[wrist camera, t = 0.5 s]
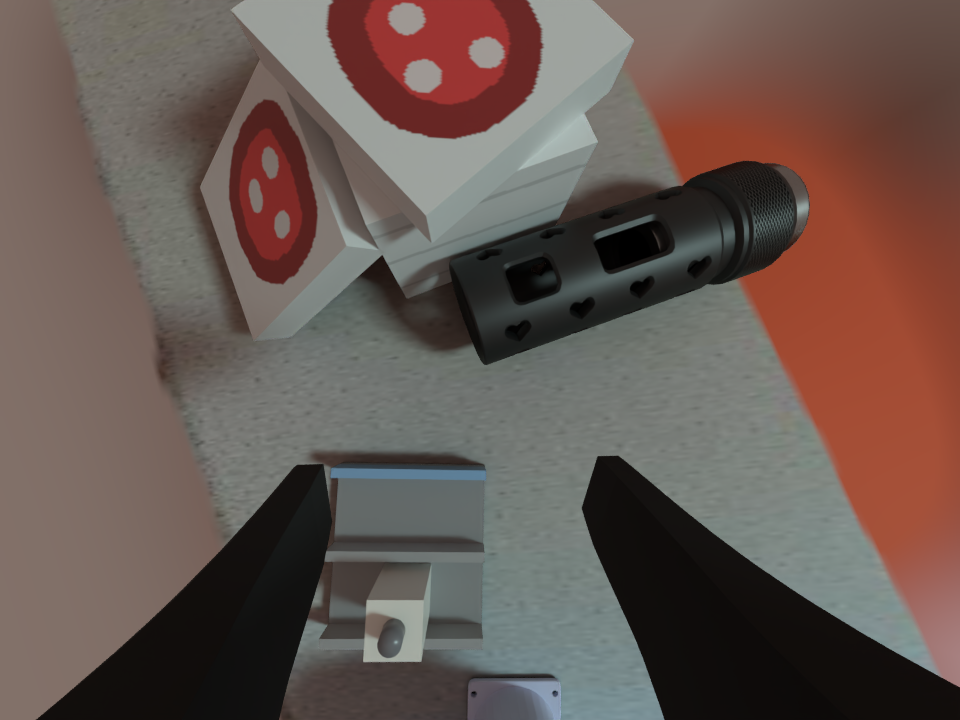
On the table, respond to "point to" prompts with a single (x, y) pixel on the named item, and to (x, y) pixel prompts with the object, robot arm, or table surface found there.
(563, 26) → the pizza boxes
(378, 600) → the plug
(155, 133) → the table surface
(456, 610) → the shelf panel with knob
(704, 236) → the muzzle brake
